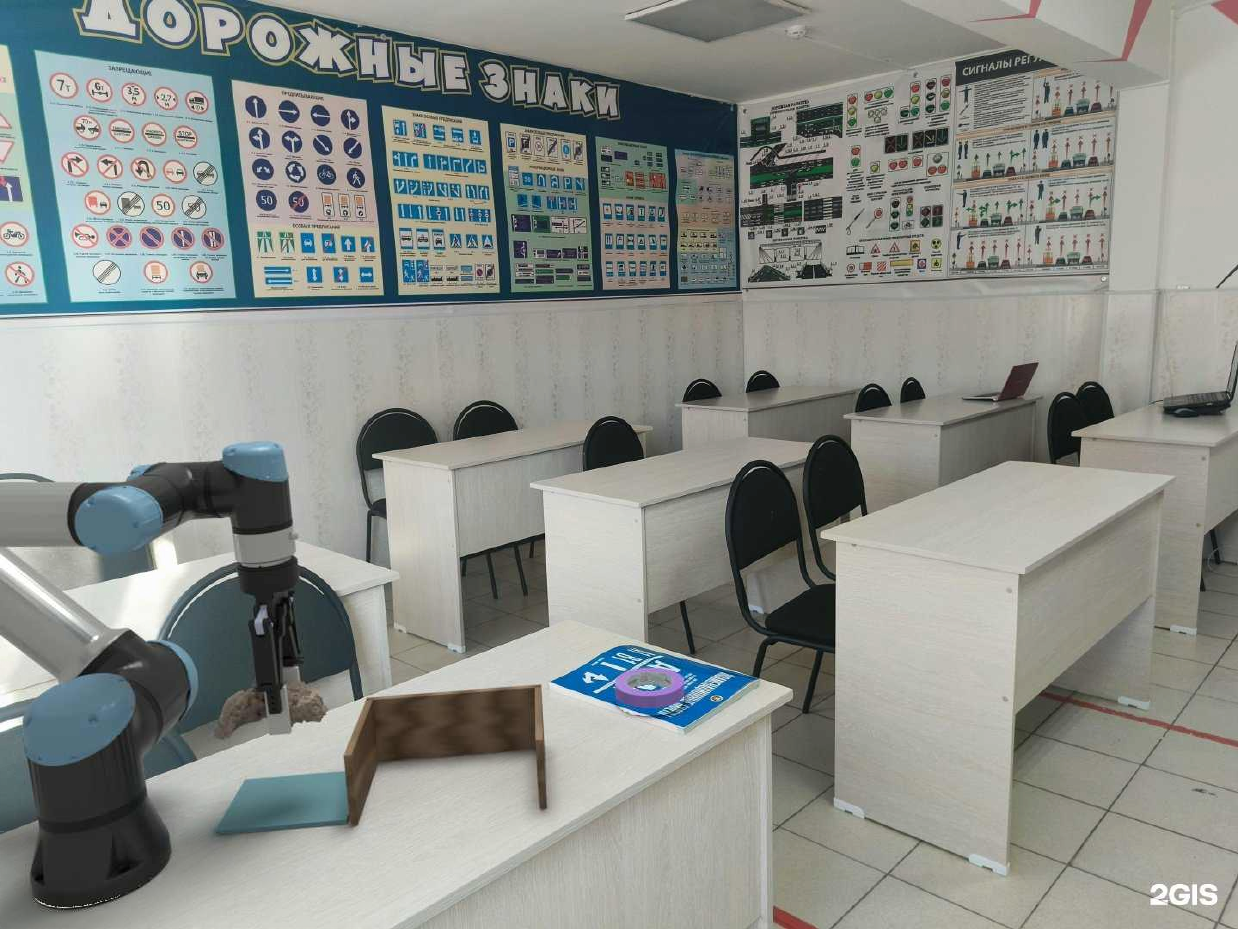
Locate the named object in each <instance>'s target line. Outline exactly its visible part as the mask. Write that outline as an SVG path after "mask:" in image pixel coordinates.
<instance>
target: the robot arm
mask: <svg viewBox="0 0 1238 929" xmlns="http://www.w3.org/2000/svg"><path fill="white" fill-rule="evenodd" d="M289 479H290V475H289V471H288V468H287V462H286V457H285V452H284V449H283V447H282V445H280V443H277V442H275V441H271V440H258V441H257V440H256V441H249V442H244V441H243V442H238V443H237V442H236V443H234V444H229V445H227V446H225V447H224V448H223V449H222V457H221V459H219V460H211V461H209V460H208V461H207V460H206V461H187V462H186V461H183V462H167V461H161V462H160V461H159V462H157V463H150V464H149V463H148V464H142V465H138V466H135V467H134V468H133V469H132V470H130V474H129V476H127V478H126V479H125V481H116V482H115V481H114V482H113V481H111V482H109V481H108V482H107V481H106V482H102V481H100V482H99V481H97V482H95V481H94V482H87V481H0V636H1V637H2V638H4V639H5V640H6V641H7V642H8V643H9V644H11V645H13V646H14V647H15V648H16V649H18V650H19V651H20V652H22V653H23V654H25V655H26V656H27V657H28V658H29V659H31V661H33V662H35V663H36V664H37V665H39V666H40V667H41V668H42V669H44V670H45V671H46V672H48V673H49V674H50V675H52V676H53V677H54V678H56V679H57V682H58V684H55V685H54V686H52V687H50V688H49V689H47V690H44V691H43V692H42V693H41V694H40V695H38V696H37V697H36V698H35V699H33V701H32V702H31V703H30V704H29V705H28V707H27V708H26V710H25V712H24V714H23V717H22V733H23V734H22V748H23V751H24V753H25V756H26V761H27V766H28V771H29V777H30V782H31V788H32V794H33V800H34V806H35V811H36V817H37V820H38V833H37V834H38V835H37V837H36V844H35V849H34V853H33V857H32V862H31V867H30V871H29V881H30V886H31V887H30V888H31V893H33V894H32V897H33V896H34V897H35V898H36V899H37V900H38V901H40V902H42V903H45V904H46V905H51V906H55V907H57V906H58V907H73V906H74V907H75V906H84V905H87V904H88V905H89V904H95V903H97V902H100V901H105V900H109V901H111V900H110V899H111V898H115V897H117V896H119V895H122V896H124V895H126V894H128V893H130V892H132V891H134V890H136V889H137V888H136V887H138V886H139V885H141V884H143V883H144V884H146V883H147V882H149V881H150V880H151V879H152V878H151V877H153V878H154V877H156V875H157V874H156V873H158V872H159V871H160V870H161V869H162V870H163V868H164V867H165V866H166V865H167V863H168V862H169V860H170V858H171V856H172V844H171V843H172V842H171V837H170V836H171V835H170V832H169V828H167V826H166V825H165V823H164V821H163V820H162V817H161V815H160V814H159V813H158V811H157V809H156V808H155V806H154V804H153V803H152V801H151V799H150V798H149V795H148V789H147V781H146V775H145V768H144V762H143V761H144V757H145V756H146V755H147V754H148V752H150V751H151V750H152V749H153V747H155V746H156V745H157V744H158V743H159V742H160V741H161V740H162V739H163V738H164V737H165V736H166V734H168V732H169V731H170V730H171V729H174V727H175V726H177V725H178V724H179V723H180V722H181V720H182V719H183V718H184V717H185V716H186V714H187V712H188V711H189V709H190V708H191V707H192V705H193V703H194V702H195V700H196V697H197V694H198V691H199V690H198V689H199V680H198V675H199V674H198V671H197V668H196V666H195V663H194V661H193V660H192V658H191V657H190V655H189V654H188V653H187V652H186V650H184V649H183V648H182V647H180V646H179V645H177V644H176V643H174V642H171V641H168V640H163V639H161V640H156V639H149V640H145V639H144V638H143V637H142V636H140V635H139V634H137V633H136V632H135V631H133V630H132V629H131V628H129V627H122V628H111V627H109V626H108V625H106V624H105V623H103V622H102V621H101V620H99V619H98V618H97V617H96V616H95V615H93V614H92V613H90V611H88V610H87V609H85V608H84V607H83V606H82V605H80V604H79V603H78V602H76V601H75V600H74V599H73V598H71V597H70V595H68V594H67V593H65V592H64V591H62V589H60V588H59V587H57V585H55V584H54V583H53V582H51V581H50V580H49V579H47V578H46V577H45V576H43V575H42V574H41V572H38V571H37V570H36V569H35V568H33V567H32V566H31V565H30V564H28V562H26V561H24V560H23V559H22V558H21V557H19V556H18V555H17V554H16V553H14V552H13V551H12V550H11V549H9V548H67V547H68V548H75V547H76V548H79V547H80V548H81V547H82V548H85V547H86V548H87V549H88V550H90V551H93V552H94V553H96V554H98V555H100V556H104V557H119V556H124V555H126V554H129V553H133V552H136V551H139V550H141V549H143V548H145V547H146V546H148V545H149V544H150V543H151V542H153V541H155V540H157V539H158V538H159V537H162V536H163V535H165V534H166V533H168V532H170V531H173V530H174V529H177V527H179V526H181V525H183V524H185V523H187V522H188V521H195V520H208V519H224V518H225V519H226V518H229V519H230V525H231V532H232V542H233V550H234V551H233V552H234V558H235V561H237V562H238V563H239V564H238V565H237V567H236V572H237V579H238V586H239V590H240V592H241V593H243V594H245V595H250V596H252V597H254V598H255V605H253V609H252V610H253V612H252V613H253V618H252V619H249V620H248V623H247V626H248V629H249V633H250V637H251V645H252V646H251V648H252V655H253V662H254V664H253V665H254V672H255V673H254V674H255V678H256V684H257V687H256V689H255V692H257V693H260V692H264V697H265V705H266V713H267V718H266V720H267V728H268V735H269V736H279V735H290V734H292V732H293V730H292V727H291V721H290V713H289V704H288V696H287V688H286V686H284V684H283V676H284V678H285V680H286V684H290V683H295V682H296V681H297V682H301V677H300V667H299V665H304V664H305V656H301V655H302V652H303V650H302V649H303V648H302V644H301V637H300V628H299V622H298V615H297V614H298V613H297V608H296V590H295V587H296V586H297V585H299V583H300V581H301V577H300V571H299V570H300V569H299V561H298V560H299V559H298V558H297V557H296V556H295V554H296V552H297V547H296V540H298V539H299V537H300V536H299V535H300V534H299V533H298V532H295V531H294V520H293V519H294V518H293V513H292V512H293V511H292V501H291V493H290V480H289ZM170 855H171V856H170ZM162 870H161V871H162ZM161 871H160V872H161ZM160 872H159V873H160ZM159 873H158V874H159ZM150 878H151V879H150ZM149 879H150V880H149ZM148 880H149V881H148ZM145 882H146V883H145ZM144 884H143V885H144ZM141 886H142V885H141ZM138 888H139V887H138ZM133 889H134V890H133ZM131 890H132V891H131ZM129 891H130V892H129ZM127 892H128V893H127ZM123 894H124V895H123ZM34 897H33V898H34ZM117 898H118V897H117ZM115 899H116V898H115Z"/></svg>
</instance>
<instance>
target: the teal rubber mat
mask: <svg viewBox="0 0 1238 929" xmlns="http://www.w3.org/2000/svg"><path fill="white" fill-rule="evenodd" d="M349 821H350V816H349V806H348V797H347V787H346V777H345V770H341V771H330V772H316V773H306V774H305V773H303V774H294V775H281V776H280V775H279V776H269V777H268V776H267V777H255V778H245V779H244V780H243V782H242V784H241V786H240V787H239V789H238V791H237V792H236V794H235V796H234V798H232V801H231V802H230V804H229V806H228V808H227V809H226V811H225V812H224V814H223V816H222V818H221V819H220V821H219V823H218V824H217V827H216V828H215V830H214V835H215V834H223V835H231V834H233V835H235V834H243V833H244V832H245V833H255V832H254V831H256V833H257V831H258V832H268V831H277V830H280V831H281V830H288V829H289V828H290V829H291V828H292V829H301V828H314V827H325V826H336V825H345V824H346V825H347V824H348V822H349ZM252 831H253V832H252ZM234 833H235V834H234ZM245 833H244V834H245Z"/></svg>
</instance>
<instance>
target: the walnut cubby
mask: <svg viewBox="0 0 1238 929" xmlns="http://www.w3.org/2000/svg"><path fill="white" fill-rule="evenodd" d="M542 688H543V687H542V684H539V683H538V684H531V685H516V686H515V685H514V686H501V687H489V688H475V689H461V690H449V691H436V692H434V691H433V692H424V693H409V694H397V695H396V694H395V695H382V696H372V697H371V696H370V697H366V698H365V701H364V704H363V707H362V709H361V712H360V714H359V716H358V719H357V720H356V723H355V727H354V729H353V730H352V733H351V736H350V739H349V741H348V744H347V746H346V748H345V750H344V752H343V753H344V754H343V756H342V757H343V765H344V771H345V777H346V787H347V797H348V806H349V816H350V817H349V826H359V823H360V820H361V817H362V814H363V811H364V807H365V805H366V803H367V798H368V795H369V793H370V789H371V786H372V783H373V780H374V776H375V775H376V774H375V773H376V771H377V768H378V765H379V763H381V762H382V763H383V762H396V761H406V760H418V759H419V760H420V759H421V760H422V759H430V758H431V759H432V758H442V757H443V758H444V757H456V756H466V755H477V754H479V755H481V754H489V753H490V754H492V753H502V752H503V753H504V752H515V751H527V750H528V751H529V750H535V752H536V753H535V754H536V771H537V772H536V774H537V788H538V801H539V803H538V804H539V805H538V806H539V809H541V810H542V809H548V802H547V801H548V800H547V798H548V796H547V772H546V770H547V768H546V742H545V741H546V740H545V726H544V724H545V723H544V707H543V691H542V690H543V689H542Z"/></svg>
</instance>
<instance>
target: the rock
mask: <svg viewBox="0 0 1238 929" xmlns="http://www.w3.org/2000/svg"><path fill="white" fill-rule="evenodd" d="M283 684H284V686H286V688H287V696H288V704H289V713H290V721H291V728H294V724H296V723H297V724H303V723H304V721H305V723H310V722H311V723H312V722H313V723H314V722H315V723H321V722H322V719H323V718H324V717H325V716H326V715H327V712H328V711H329V708H328V706H327V705H326V704H325V702H324V700H323V696H321V695H319V694H318V692H314V691H312V689H311V688H309V687H308V686H307V684H306V682H305V681H304V680H303V681H300V682H297V681H296V682H295V683H290V684H286V680H285V678H284V676H283ZM251 686H252V687H250V688H248V689H246V690H243V689H242V690H241V689H240V690H238V691H236V692H235V693H234V694H232V695H231V696H230V697H228V698H227V699H226V701H225V703H224V704H223V706H222V709H221V712H220V714H219V718H218V720H217V727H216V728H215V729H214V733H213V735H214V737H215V739H218V740H223V741H225V740H227V739H228V738H230V737H232V736H233V734H234V732H235V731H236V730H238V729H239V728H240V727H242V726H245V725H248V724H252V723H257V722H259V721H260V722H261V721H262V719H267V713H266V705H265V697H264V692H257V691H256V687H257V684H256V677H254V678H253V680H252V683H251ZM245 691H246V692H245ZM259 693H260V694H259Z"/></svg>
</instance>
